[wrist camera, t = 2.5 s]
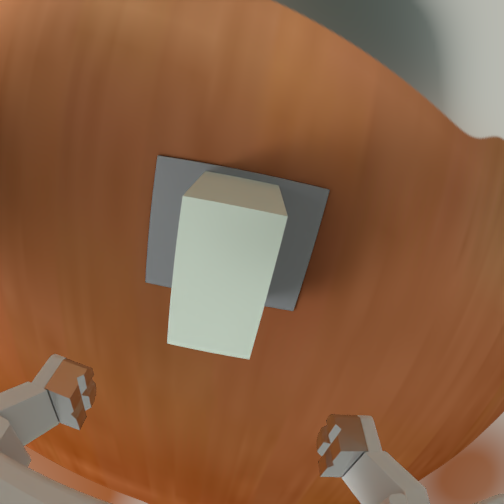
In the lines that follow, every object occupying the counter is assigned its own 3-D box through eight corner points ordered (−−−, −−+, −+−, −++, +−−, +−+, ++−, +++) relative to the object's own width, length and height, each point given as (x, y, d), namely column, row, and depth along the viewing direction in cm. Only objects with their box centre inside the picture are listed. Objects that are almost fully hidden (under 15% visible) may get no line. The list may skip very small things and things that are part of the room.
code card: (146, 281, 25) (145, 282, 25) (158, 155, 21) (157, 155, 21) (293, 309, 26) (293, 311, 25) (329, 189, 22) (329, 190, 21)
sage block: (188, 285, 25) (167, 343, 18) (205, 170, 21) (182, 195, 15) (251, 298, 25) (249, 359, 19) (278, 185, 21) (287, 216, 15)
